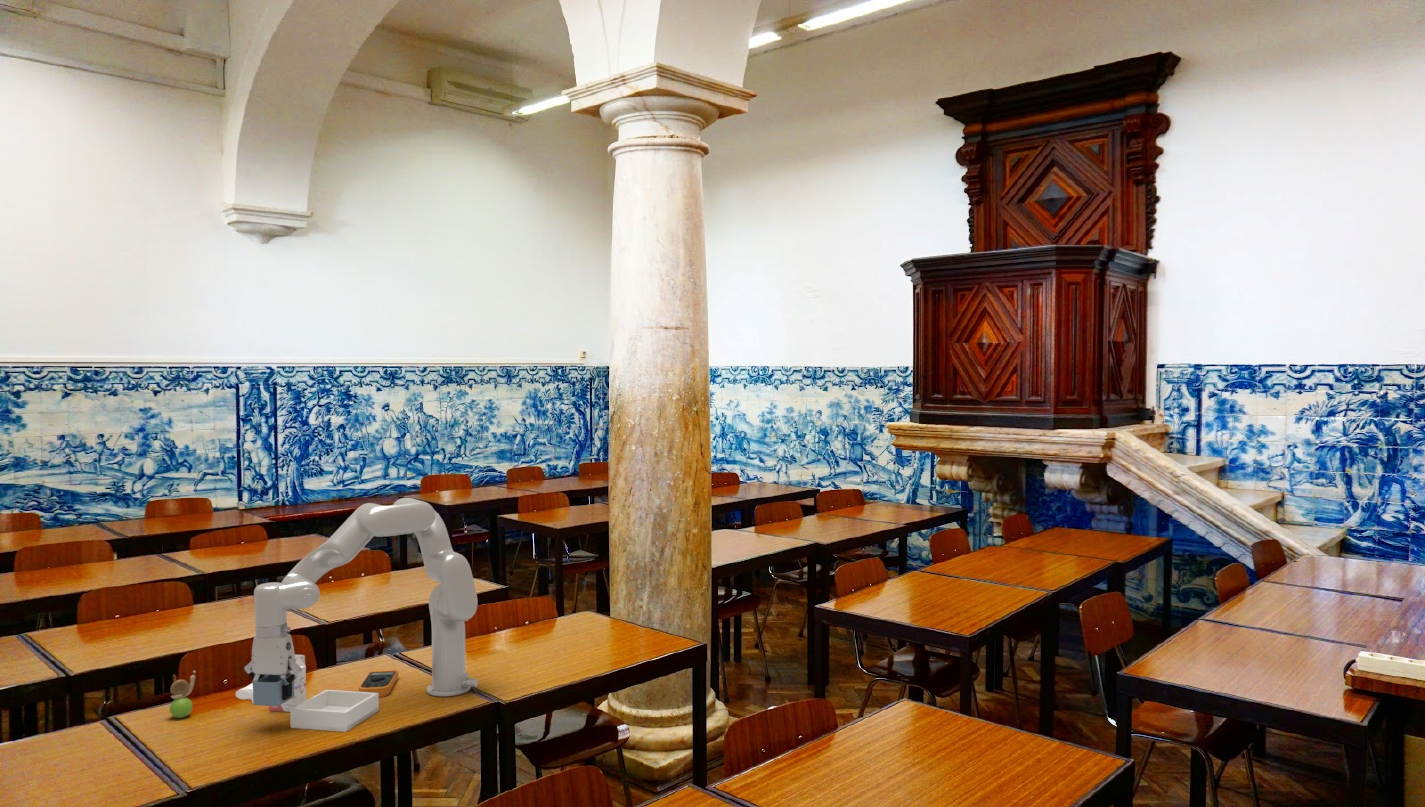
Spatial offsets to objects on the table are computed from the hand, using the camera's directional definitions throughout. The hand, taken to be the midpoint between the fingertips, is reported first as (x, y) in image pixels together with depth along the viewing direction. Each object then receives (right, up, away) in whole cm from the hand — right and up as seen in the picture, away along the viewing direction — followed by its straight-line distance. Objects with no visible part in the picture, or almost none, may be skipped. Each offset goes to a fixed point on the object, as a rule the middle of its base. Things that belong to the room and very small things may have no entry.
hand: (274, 697), depth 248 cm
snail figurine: (-29, -8, +9) cm, 32 cm away
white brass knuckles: (-14, -8, +29) cm, 33 cm away
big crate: (+13, -8, +7) cm, 17 cm away
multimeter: (+16, -8, +33) cm, 38 cm away
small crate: (0, -1, 0) cm, 1 cm away
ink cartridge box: (-3, -8, +16) cm, 18 cm away
